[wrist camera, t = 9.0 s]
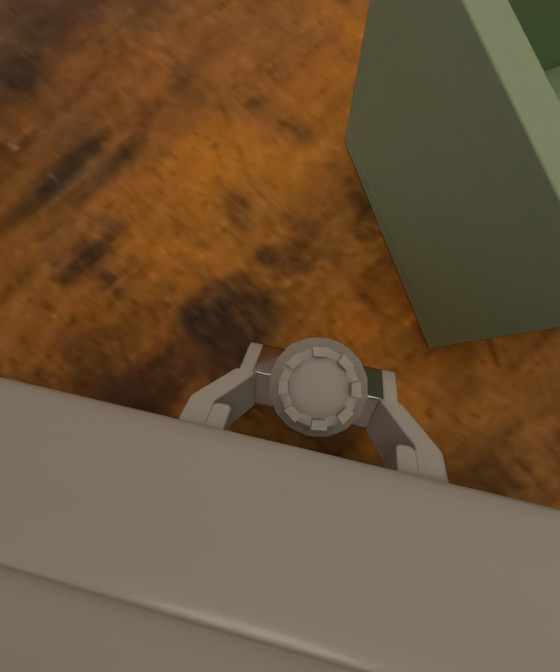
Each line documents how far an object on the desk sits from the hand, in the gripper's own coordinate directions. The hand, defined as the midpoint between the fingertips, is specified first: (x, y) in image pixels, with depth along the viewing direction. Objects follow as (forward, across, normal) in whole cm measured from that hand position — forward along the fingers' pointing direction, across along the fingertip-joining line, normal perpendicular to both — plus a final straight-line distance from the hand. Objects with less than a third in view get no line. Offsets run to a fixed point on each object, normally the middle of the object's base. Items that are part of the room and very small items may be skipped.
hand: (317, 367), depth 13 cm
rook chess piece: (+3, 0, +4) cm, 5 cm away
